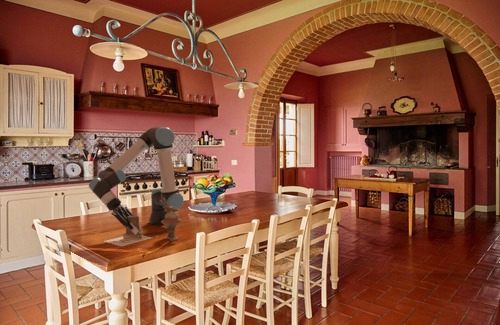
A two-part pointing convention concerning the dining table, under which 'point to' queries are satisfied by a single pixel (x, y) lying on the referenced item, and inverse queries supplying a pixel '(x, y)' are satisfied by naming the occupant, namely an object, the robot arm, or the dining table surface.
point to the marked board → (125, 241)
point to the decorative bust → (170, 220)
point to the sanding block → (129, 233)
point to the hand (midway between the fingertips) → (139, 231)
